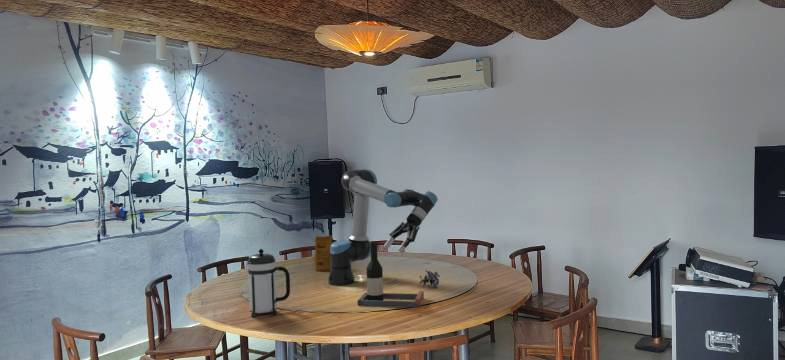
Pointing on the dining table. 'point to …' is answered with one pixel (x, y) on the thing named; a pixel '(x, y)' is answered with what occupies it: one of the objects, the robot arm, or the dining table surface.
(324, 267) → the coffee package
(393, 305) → the frame
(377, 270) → the wine bottle
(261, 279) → the coffee press
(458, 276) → the dining table surface
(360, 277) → the dining table surface
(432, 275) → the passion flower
